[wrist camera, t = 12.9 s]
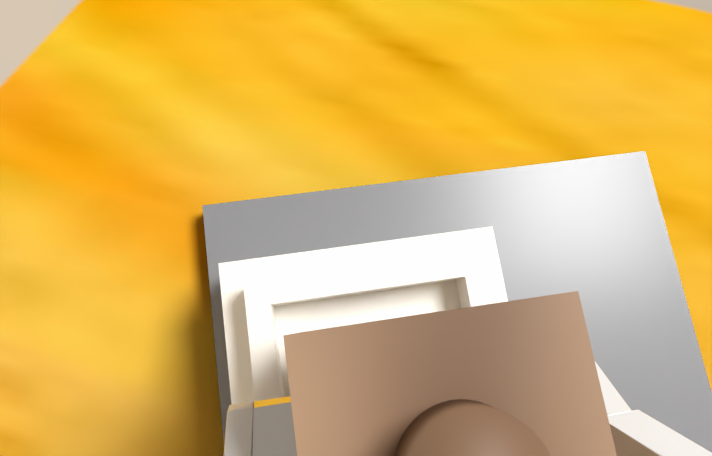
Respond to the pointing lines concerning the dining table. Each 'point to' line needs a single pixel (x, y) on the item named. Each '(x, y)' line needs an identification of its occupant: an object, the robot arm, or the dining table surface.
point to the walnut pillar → (452, 384)
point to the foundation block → (345, 296)
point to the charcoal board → (516, 260)
